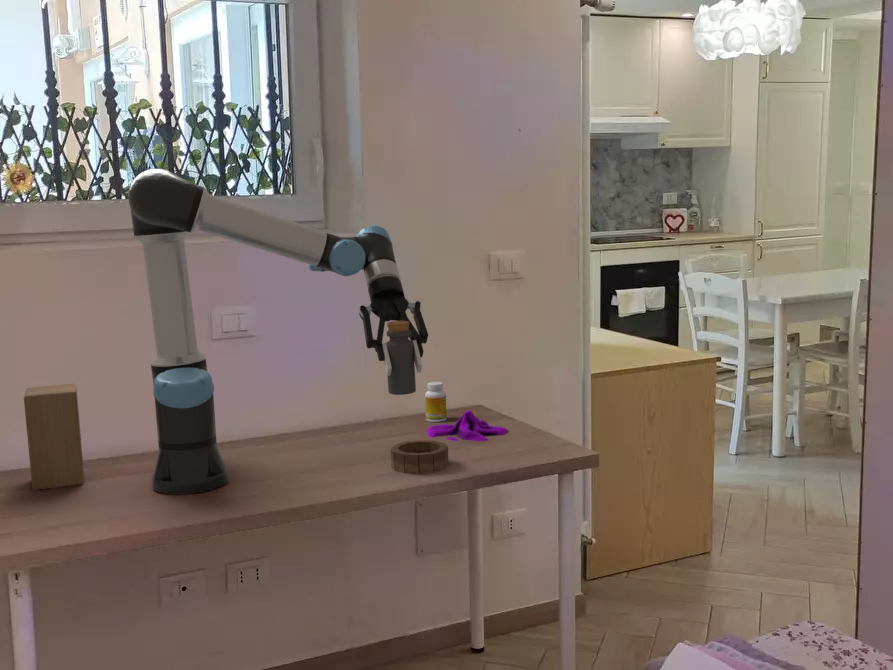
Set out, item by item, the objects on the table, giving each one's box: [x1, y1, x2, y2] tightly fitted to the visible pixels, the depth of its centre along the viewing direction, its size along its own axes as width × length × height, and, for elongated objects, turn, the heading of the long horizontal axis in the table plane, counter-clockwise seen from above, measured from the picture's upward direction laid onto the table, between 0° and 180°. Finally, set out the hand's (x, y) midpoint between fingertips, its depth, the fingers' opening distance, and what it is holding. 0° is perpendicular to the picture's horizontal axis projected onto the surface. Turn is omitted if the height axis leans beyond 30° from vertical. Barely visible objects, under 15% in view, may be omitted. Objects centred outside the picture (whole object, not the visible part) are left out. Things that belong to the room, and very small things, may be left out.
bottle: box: [385, 320, 417, 396], centre depth 204 cm, size 6×6×15 cm
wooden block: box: [23, 383, 85, 491], centre depth 203 cm, size 10×10×20 cm
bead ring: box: [390, 439, 449, 475], centre depth 208 cm, size 12×12×4 cm
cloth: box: [427, 409, 509, 442], centre depth 235 cm, size 22×19×6 cm
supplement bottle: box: [424, 381, 448, 423], centre depth 250 cm, size 5×5×10 cm
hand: (404, 370), depth 201 cm, fingers closed on bottle, 6 cm apart
